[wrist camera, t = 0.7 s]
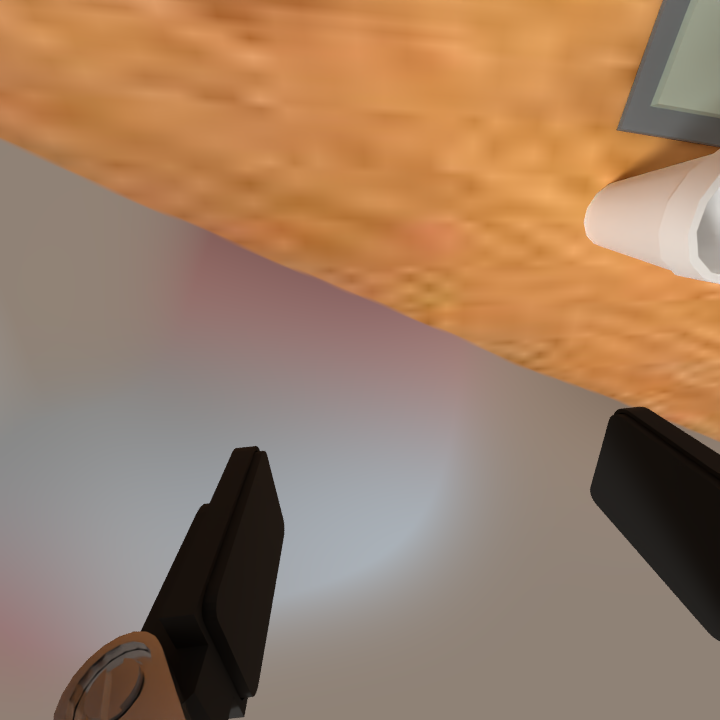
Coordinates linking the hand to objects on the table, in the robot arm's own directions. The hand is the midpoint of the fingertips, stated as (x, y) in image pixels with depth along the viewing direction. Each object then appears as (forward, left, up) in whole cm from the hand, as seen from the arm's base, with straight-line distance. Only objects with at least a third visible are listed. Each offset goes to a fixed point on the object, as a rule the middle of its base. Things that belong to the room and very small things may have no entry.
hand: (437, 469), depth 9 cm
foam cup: (-9, +25, -29) cm, 40 cm away
